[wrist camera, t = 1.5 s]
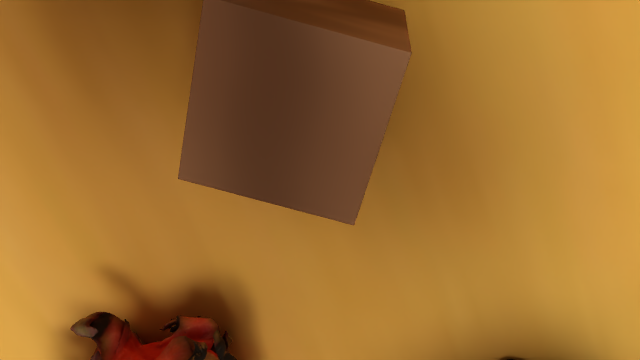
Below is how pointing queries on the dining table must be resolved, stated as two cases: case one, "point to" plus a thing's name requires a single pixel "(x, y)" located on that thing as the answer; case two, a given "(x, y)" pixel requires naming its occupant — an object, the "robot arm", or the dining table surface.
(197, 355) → the dragon fruit
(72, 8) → the dining table surface
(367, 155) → the walnut cube
